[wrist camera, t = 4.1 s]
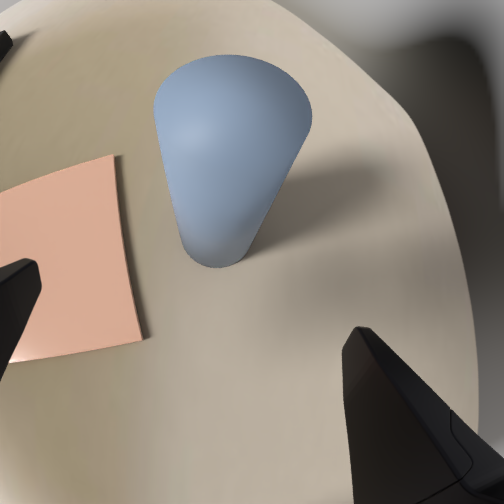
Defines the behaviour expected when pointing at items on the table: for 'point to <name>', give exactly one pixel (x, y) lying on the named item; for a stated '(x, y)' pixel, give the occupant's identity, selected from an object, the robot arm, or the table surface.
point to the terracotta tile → (71, 260)
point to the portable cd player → (4, 44)
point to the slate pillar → (227, 149)
